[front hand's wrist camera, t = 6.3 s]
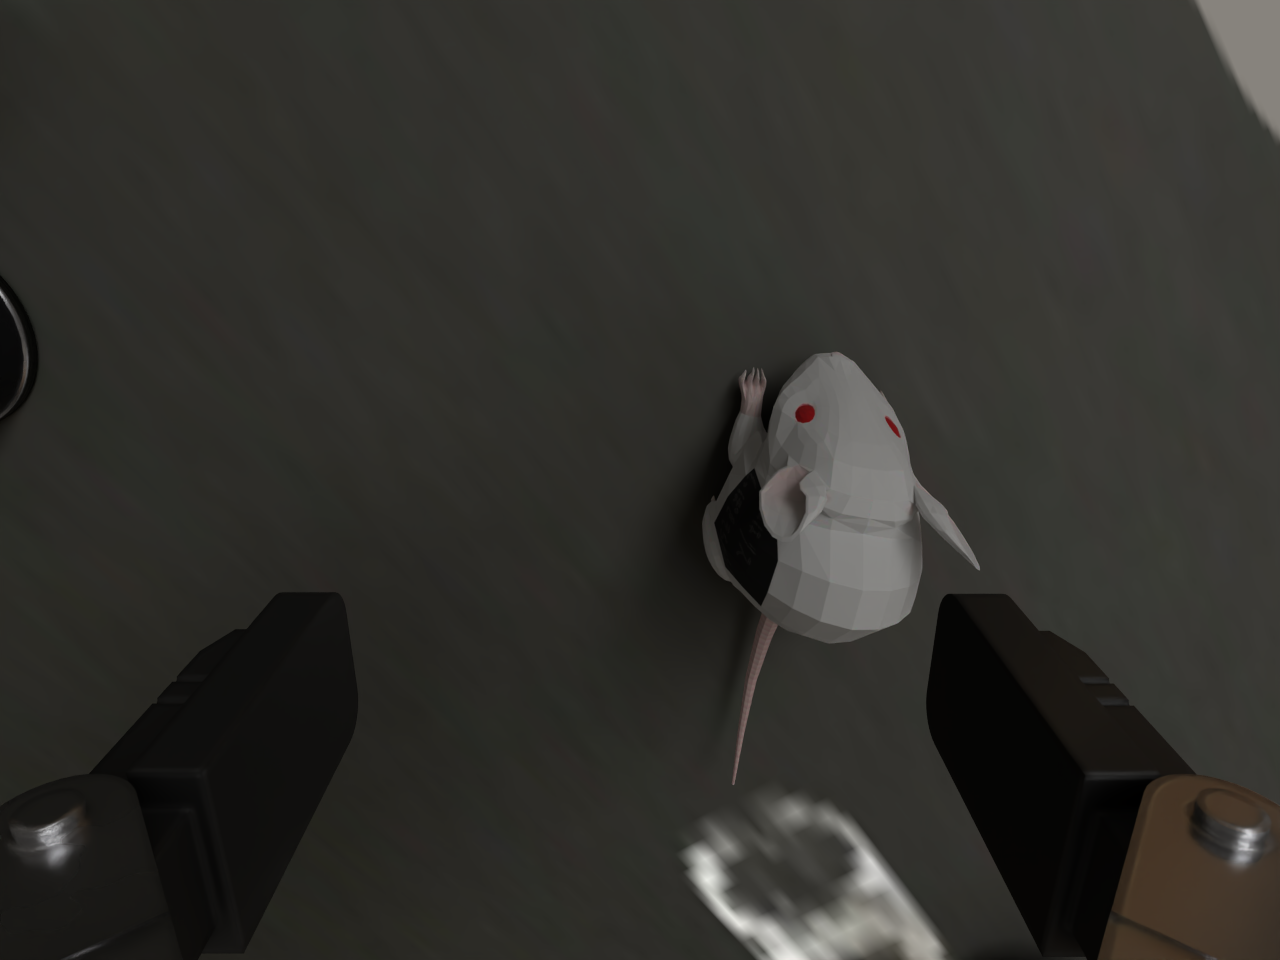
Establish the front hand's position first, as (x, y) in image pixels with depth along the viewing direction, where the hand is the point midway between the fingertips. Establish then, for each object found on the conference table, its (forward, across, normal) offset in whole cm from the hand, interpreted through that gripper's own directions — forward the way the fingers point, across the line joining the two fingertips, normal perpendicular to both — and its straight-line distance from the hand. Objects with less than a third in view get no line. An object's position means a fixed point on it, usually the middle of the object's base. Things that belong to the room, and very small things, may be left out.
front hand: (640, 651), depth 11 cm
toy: (+30, -7, +13) cm, 34 cm away
